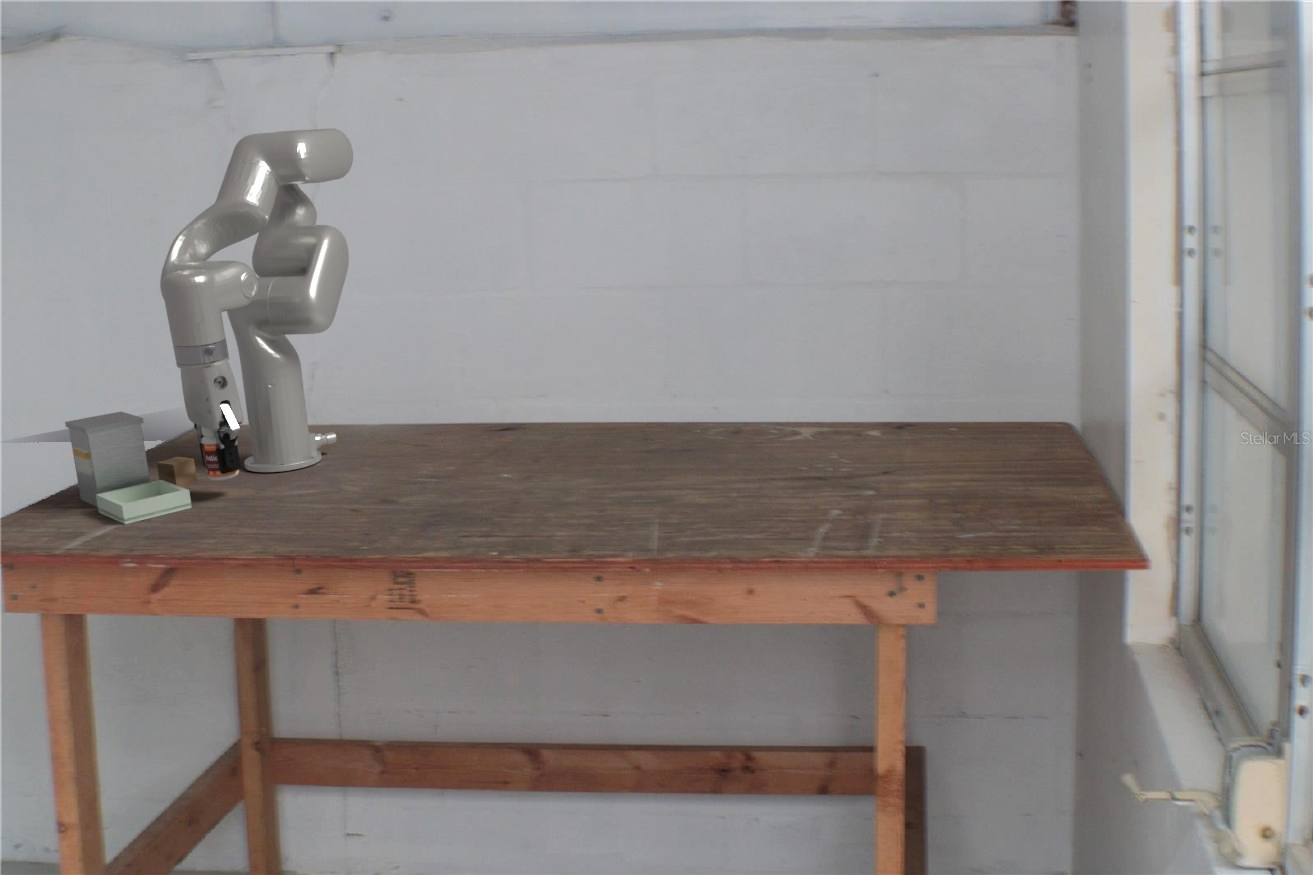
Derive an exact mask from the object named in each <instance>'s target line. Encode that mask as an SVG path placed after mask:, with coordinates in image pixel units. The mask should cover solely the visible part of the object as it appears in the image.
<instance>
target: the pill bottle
mask: <svg viewBox="0 0 1313 875" xmlns="http://www.w3.org/2000/svg"><path fill="white" fill-rule="evenodd" d="M219 426H220V427H219V428H221V427H225V426H226V424H225V423H221V424H219ZM201 431H202V435H203V436H204V437H203V438H202V439H201V444H202V450H203V455H204V461H205V466H204V467H205V471H206V475H207V479H209V480H212V481H225V480H229V479H232V478H234V477H237V476H238V475H239V473H240V469H239V470H236V471H232V472H229V473H226V474H222V473H220V470H219V465H218V459H217V454H216V449H218V446H217V442H216V439H215V436H214V432H213V430H211V429H209V428H206V427H203V426H201ZM226 432H227V430H225V431H222V432H220V433H221V436H222V437H223V435H224V433H226Z"/></svg>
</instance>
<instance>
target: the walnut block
mask: <svg viewBox="0 0 1313 875" xmlns="http://www.w3.org/2000/svg"><path fill="white" fill-rule="evenodd" d="M156 466H157V472H158V478H159V479H158V480H164V481H166V482H169V483H172V484H174V485H177V486H180V487H183V488H184V487H185V486H189V485H192V484H195V483H198V479H197V478H198V477H197V471H196V464H195V459H194V458H190V457H185V456H173V457H172V458H168V459H164V460H162V461H157V462H156Z"/></svg>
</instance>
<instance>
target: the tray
mask: <svg viewBox="0 0 1313 875" xmlns="http://www.w3.org/2000/svg"><path fill="white" fill-rule="evenodd" d="M96 499H97V505H98V507H97V508H98V509H97V510H98V513H100V514H101V515H103V516H106V517H107V518H110V519H113V521H114V520H115V521H117V522H119V523H121V524H123V525H128V524H132V523H136V522H140V521H143V520H148V519H153V518H156V517H160V516H164V515H169V514H172V513H177V512H180V511H184V510H188V509H192V507H193V506H192V500H191V499H192V498H191V494H190V489H188V488H185V487H184V486H183V487H180V486H177V485H174V484H172V483H169V482H166V481H164V480H159V479H158V480H155V481H150V482H149V483H145V484H140V485H136V486H131V487H127V488H123V489H118V490H114V491H109V492H105V493H101V494H96Z"/></svg>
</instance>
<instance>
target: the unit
mask: <svg viewBox="0 0 1313 875" xmlns="http://www.w3.org/2000/svg"><path fill="white" fill-rule="evenodd" d="M64 423H65V428H68V432H69V439H70V443H71V448H72V455H73V460H74V466H75V472H76V473H75V474H76V479H77V483H78V490H79V495H80V500H81V501H82V502H85V503H87V504H89V505H92V506H93V507H96V508H98V505H97V499H96V494H101V493H105V492H109V491H114V490H118V489H123V488H127V487H131V486H136V485H140V484H145V483H149V482H151V479H150V473H149V466H148V458H147V453H146V452H147V451H146V446H145V439H144V434H143V433H144V432H143V427H142V424H144V418H143V417H140V416H137V415H134V414H131V413H128V412H125V411H124V412H123V411H117V412H112V413H105V414H101V415H95V416H91V417H83V418H78V419H74V420H68V421H65V422H64Z"/></svg>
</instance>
